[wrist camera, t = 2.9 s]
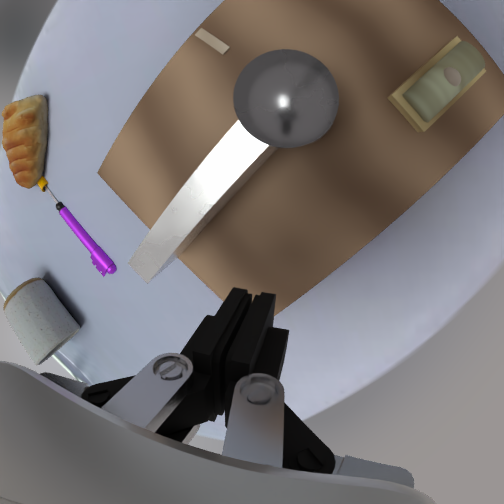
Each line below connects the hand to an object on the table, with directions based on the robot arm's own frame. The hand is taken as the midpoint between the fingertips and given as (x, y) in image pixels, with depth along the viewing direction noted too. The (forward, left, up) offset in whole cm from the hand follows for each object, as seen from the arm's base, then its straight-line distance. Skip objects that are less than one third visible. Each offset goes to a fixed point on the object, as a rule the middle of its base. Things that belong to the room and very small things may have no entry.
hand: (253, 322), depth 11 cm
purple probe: (+14, -16, -9) cm, 23 cm away
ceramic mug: (+27, -12, -9) cm, 31 cm away
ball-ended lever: (-2, -5, -6) cm, 8 cm away
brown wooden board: (-7, -5, -9) cm, 12 cm away
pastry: (+10, -25, -9) cm, 28 cm away
